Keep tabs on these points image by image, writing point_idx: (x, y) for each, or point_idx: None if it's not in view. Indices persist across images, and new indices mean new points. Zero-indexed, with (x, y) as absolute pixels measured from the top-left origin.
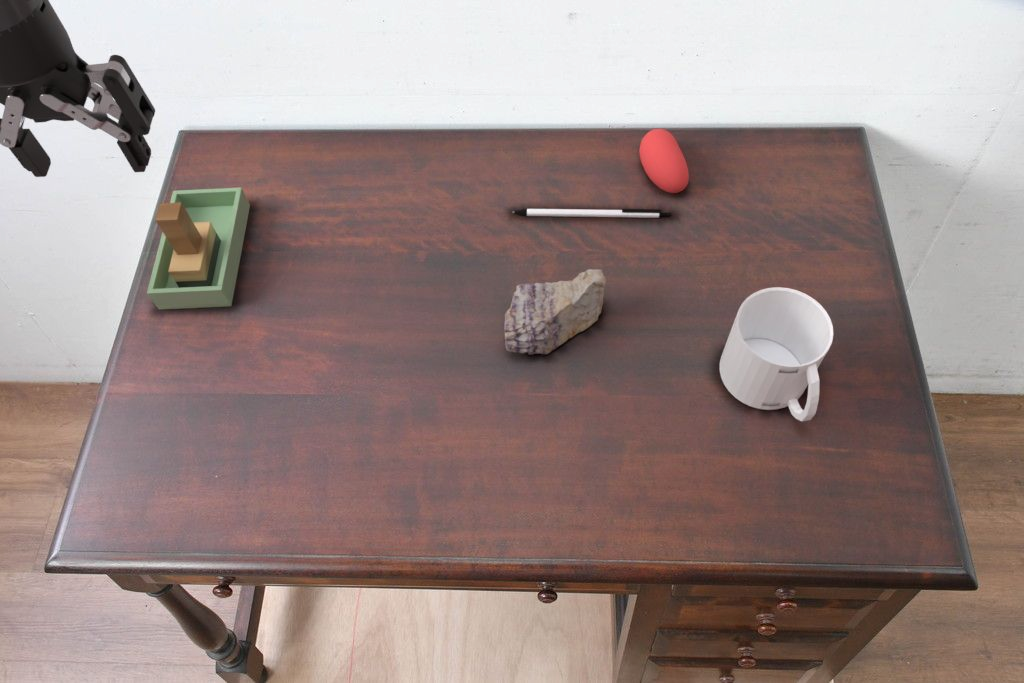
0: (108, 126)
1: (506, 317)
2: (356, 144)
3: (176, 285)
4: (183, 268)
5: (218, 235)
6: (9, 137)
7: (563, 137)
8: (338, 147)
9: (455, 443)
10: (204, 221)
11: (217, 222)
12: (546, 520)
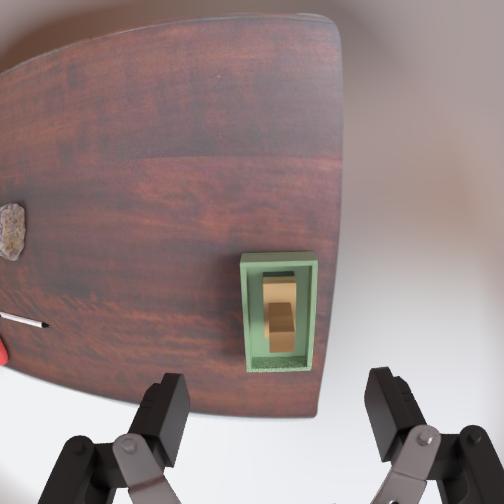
0: (139, 475)
1: (3, 223)
2: None
3: (298, 275)
4: (280, 286)
5: None
6: (415, 452)
7: (47, 376)
8: None
9: (47, 129)
10: None
11: None
12: (9, 91)
